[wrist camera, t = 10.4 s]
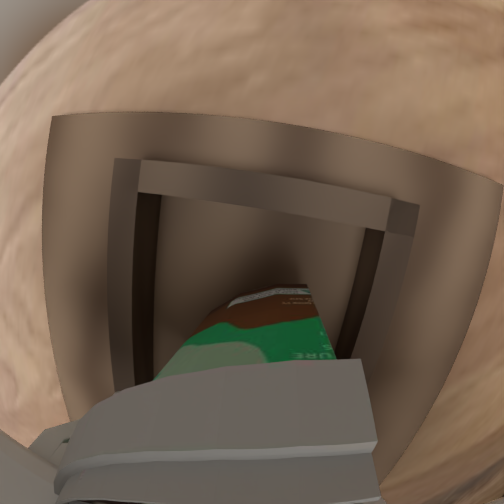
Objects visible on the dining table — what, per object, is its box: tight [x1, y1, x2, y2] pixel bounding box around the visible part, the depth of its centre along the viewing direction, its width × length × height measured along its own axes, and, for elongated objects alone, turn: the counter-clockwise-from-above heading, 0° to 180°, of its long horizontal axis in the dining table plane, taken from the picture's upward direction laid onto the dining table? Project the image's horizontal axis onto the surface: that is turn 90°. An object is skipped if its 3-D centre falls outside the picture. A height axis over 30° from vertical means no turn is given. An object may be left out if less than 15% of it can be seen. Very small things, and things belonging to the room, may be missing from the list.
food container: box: [53, 284, 381, 504], centre depth 8 cm, size 12×6×10 cm, turn 176°
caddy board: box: [42, 112, 504, 485], centre depth 14 cm, size 24×22×4 cm
